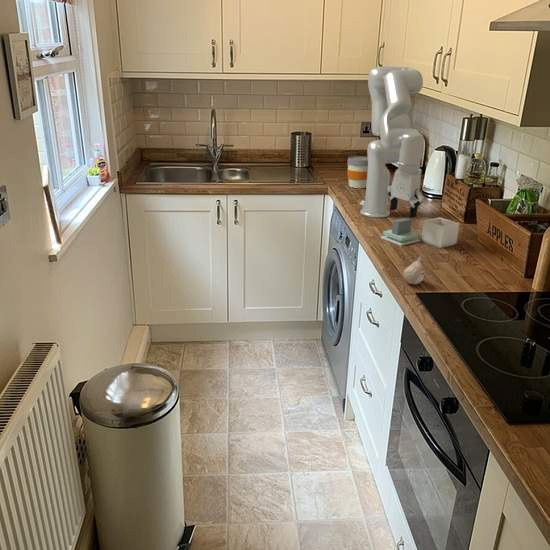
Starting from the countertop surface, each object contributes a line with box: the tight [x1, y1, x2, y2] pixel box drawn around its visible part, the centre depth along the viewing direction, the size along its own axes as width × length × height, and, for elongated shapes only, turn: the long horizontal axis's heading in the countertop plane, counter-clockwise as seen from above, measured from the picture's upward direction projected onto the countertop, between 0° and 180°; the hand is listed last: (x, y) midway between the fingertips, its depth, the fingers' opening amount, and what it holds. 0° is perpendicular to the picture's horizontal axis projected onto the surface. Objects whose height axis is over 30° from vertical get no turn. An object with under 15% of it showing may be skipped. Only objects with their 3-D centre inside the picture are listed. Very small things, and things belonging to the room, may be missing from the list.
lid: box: [382, 217, 420, 242], centre depth 209 cm, size 9×9×7 cm
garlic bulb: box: [403, 255, 425, 285], centre depth 170 cm, size 7×6×8 cm
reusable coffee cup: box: [346, 155, 368, 188], centre depth 286 cm, size 13×13×15 cm
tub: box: [420, 217, 460, 249], centre depth 207 cm, size 9×9×8 cm
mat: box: [380, 235, 421, 246], centre depth 211 cm, size 10×10×1 cm
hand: (402, 213), depth 208 cm, fingers open, 9 cm apart
